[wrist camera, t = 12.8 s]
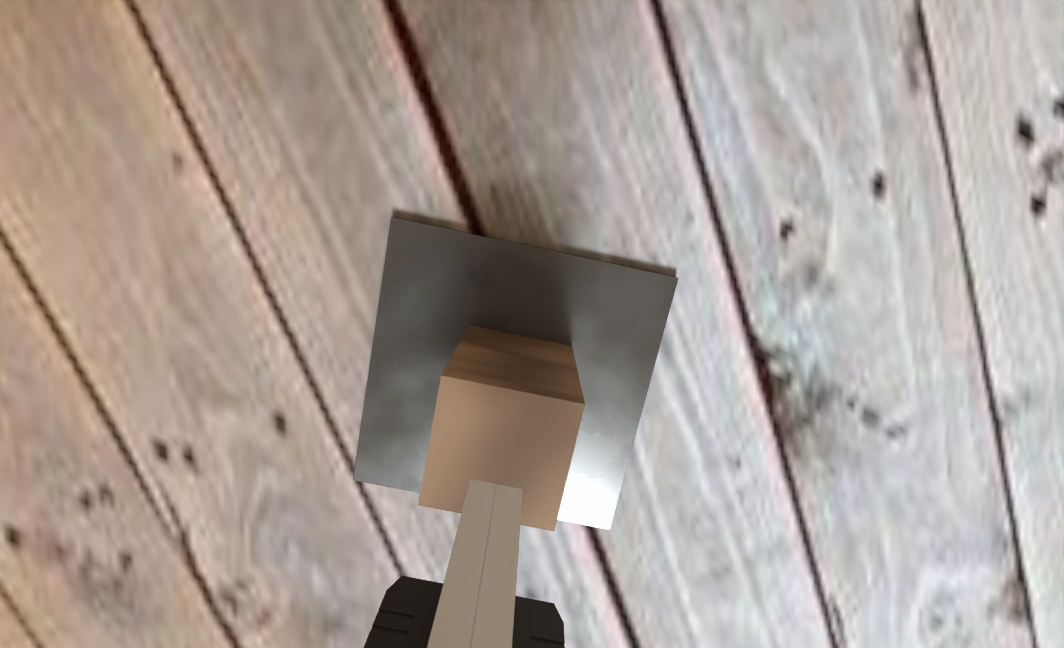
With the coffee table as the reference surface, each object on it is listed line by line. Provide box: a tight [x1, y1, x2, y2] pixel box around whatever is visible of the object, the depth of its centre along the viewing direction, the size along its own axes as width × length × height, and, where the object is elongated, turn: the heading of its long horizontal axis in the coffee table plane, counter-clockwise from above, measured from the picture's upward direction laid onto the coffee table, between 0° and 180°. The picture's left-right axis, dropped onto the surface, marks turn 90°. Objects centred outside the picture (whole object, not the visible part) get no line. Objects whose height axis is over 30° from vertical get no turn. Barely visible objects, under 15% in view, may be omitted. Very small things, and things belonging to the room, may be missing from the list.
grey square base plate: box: [353, 217, 678, 530], centre depth 24 cm, size 14×14×6 cm
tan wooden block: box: [418, 325, 585, 531], centre depth 23 cm, size 5×5×8 cm
